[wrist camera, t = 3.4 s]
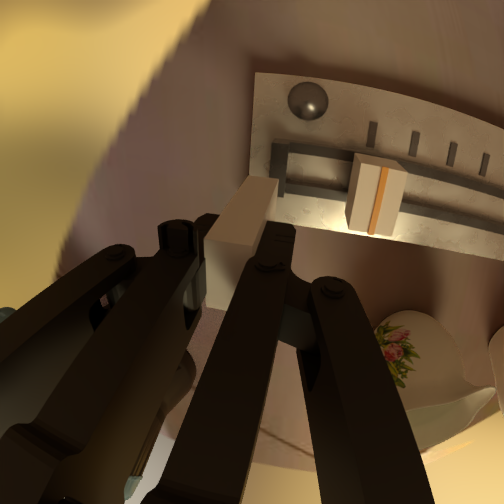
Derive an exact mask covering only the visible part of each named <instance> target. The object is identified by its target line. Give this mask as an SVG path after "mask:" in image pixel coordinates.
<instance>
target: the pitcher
mask: <svg viewBox="0 0 504 504" xmlns="http://www.w3.org/2000/svg"><path fill="white" fill-rule="evenodd" d="M374 334H375V336H376V338H377V341H378V343H379V345H380V348H381V350H382V353H383V355H384V357H385V360H386V362H387V365H388V367H389V370H390V372H391V375H392V377H393V380H394V382H395V385H396V387H397V390H398V393H399V395H400V398H401V400H402V403H403V406H404V409H405V411H406V414H407V417H408V420H409V422H410V425H411V428H412V431H413V434H414V437H415V440H416V443H417V446H418V449H419V450H422V449H425V448H428V447H431V446H434V445H436V444H439V443H441V442H443V441H445V440H447V439H449V438H451V437H453V436H454V435H456V434H458V433H459V432H461V431H462V430H463V429H464V428H466V427H467V426H468V425H469V424H470V423H471V422H472V420H473V419H474V417H475V415H476V413H477V412H478V411H479V410H480V409H481V408H482V407H483V406H484V405H485V404H486V403H487V402H488V401H489V400H490V399H491V398H492V397H493V396H494V394H495V393H496V390H497V389H496V387H495V386H491V385H486V386H481V387H478V386H474V385H472V384H471V383H469V382H467V381H466V380H465V368H464V364H463V360H462V357H461V354H460V351H459V349H458V347H457V345H456V343H455V341H454V340H453V338H452V337H451V335H450V334H449V333H448V331H447V330H446V329H445V328H444V327H443V326H442V325H441V324H440V323H439V322H438V321H437V320H435V319H434V318H432V317H431V316H429V315H427V314H424V313H421V312H418V311H414V310H405V311H400V312H397V313H394V314H392V315H390V316H388V317H387V318H386V319H384V320H383V321H382V322H381V323H380V325H379V326H378V327H377V328H376V329H375V331H374Z"/></svg>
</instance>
